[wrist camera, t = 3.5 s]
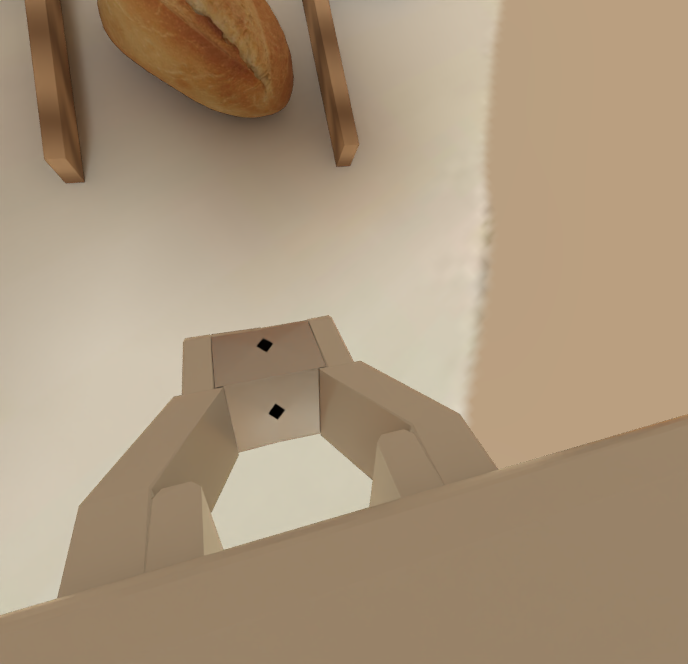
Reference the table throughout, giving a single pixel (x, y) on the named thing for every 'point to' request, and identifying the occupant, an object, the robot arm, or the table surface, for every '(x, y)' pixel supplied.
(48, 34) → the box
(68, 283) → the table surface
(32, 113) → the table surface
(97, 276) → the table surface
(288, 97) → the bread roll
